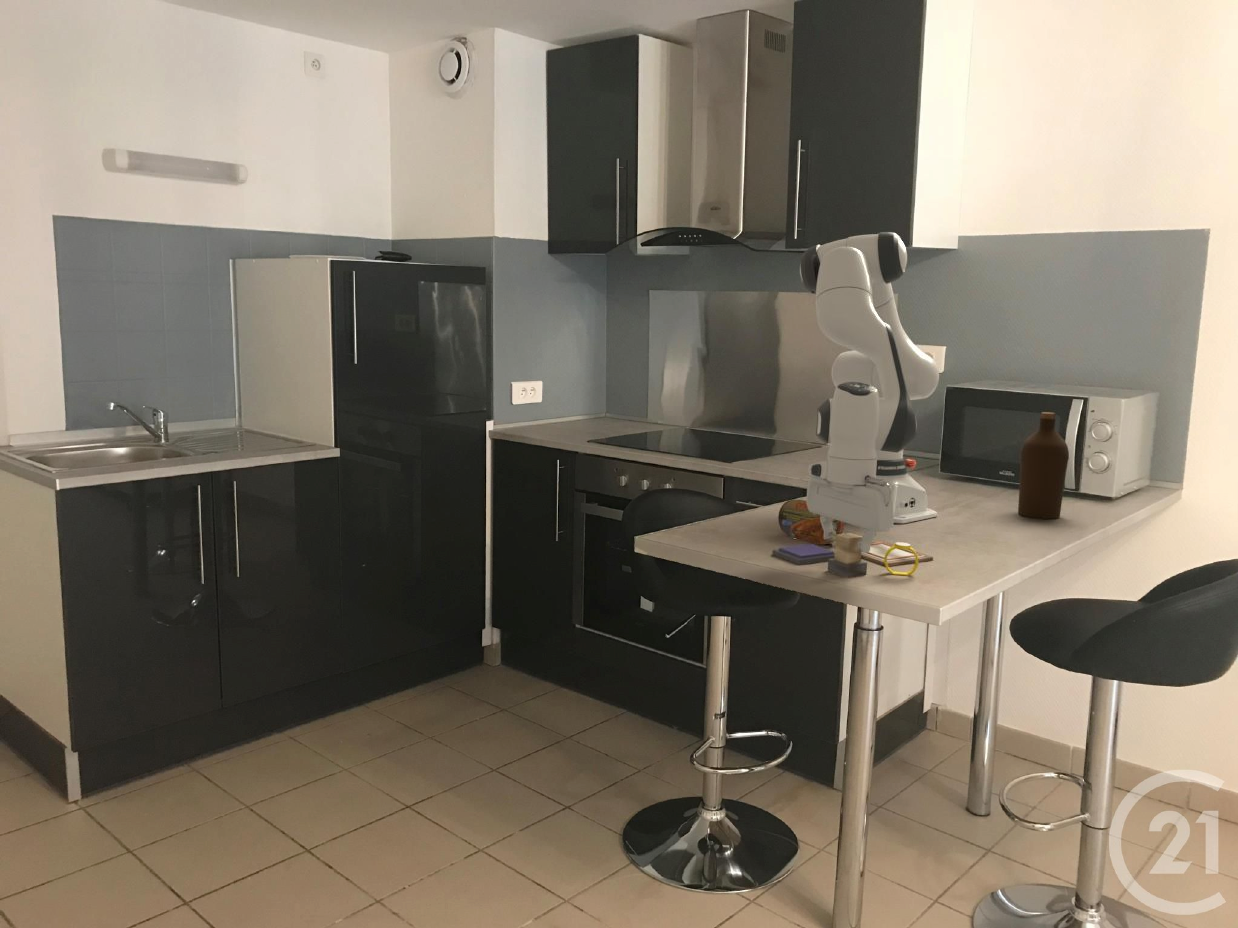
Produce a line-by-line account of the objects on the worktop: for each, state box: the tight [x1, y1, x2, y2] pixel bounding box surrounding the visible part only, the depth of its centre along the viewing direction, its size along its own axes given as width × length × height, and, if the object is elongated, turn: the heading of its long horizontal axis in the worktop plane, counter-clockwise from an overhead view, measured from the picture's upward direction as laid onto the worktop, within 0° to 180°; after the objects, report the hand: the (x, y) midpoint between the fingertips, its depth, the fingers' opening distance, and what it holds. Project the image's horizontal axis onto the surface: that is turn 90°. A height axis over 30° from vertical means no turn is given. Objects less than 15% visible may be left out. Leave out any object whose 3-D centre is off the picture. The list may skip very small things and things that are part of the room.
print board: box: [861, 540, 934, 567], centre depth 196 cm, size 12×14×1 cm
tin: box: [777, 499, 845, 545], centre depth 206 cm, size 15×3×8 cm, turn 45°
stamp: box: [827, 532, 868, 578], centre depth 182 cm, size 5×5×7 cm
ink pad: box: [771, 543, 835, 566], centre depth 193 cm, size 10×8×2 cm
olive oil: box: [1017, 411, 1070, 520], centre depth 236 cm, size 11×11×25 cm
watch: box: [884, 541, 919, 577], centre depth 181 cm, size 6×3×6 cm, turn 78°
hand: (846, 545), depth 181 cm, fingers open, 8 cm apart
